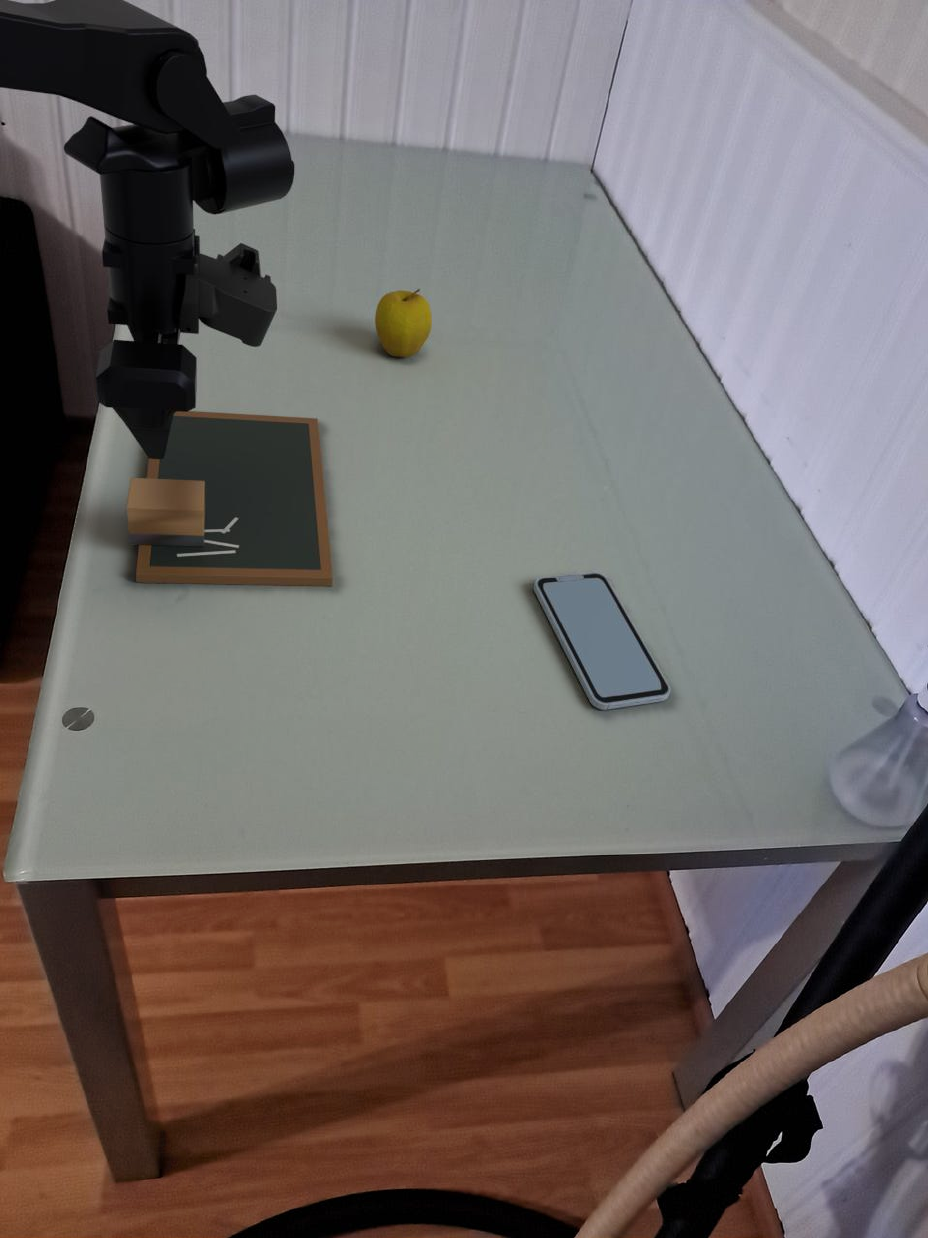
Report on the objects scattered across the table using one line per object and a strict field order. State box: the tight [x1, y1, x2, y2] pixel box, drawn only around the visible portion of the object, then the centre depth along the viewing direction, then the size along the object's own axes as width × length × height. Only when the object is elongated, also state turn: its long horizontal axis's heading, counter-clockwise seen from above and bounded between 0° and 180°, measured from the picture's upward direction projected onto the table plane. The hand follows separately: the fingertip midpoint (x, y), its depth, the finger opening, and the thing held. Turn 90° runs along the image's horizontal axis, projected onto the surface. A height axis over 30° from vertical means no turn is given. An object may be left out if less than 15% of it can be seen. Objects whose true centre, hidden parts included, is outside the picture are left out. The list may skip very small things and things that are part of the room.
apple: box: [374, 288, 433, 358], centre depth 110 cm, size 6×6×8 cm
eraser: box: [126, 477, 205, 547], centre depth 81 cm, size 6×4×4 cm, turn 99°
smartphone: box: [533, 571, 672, 711], centre depth 83 cm, size 7×1×15 cm
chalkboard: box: [135, 410, 334, 587], centre depth 88 cm, size 16×24×1 cm, turn 9°
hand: (160, 422), depth 75 cm, fingers open, 9 cm apart
